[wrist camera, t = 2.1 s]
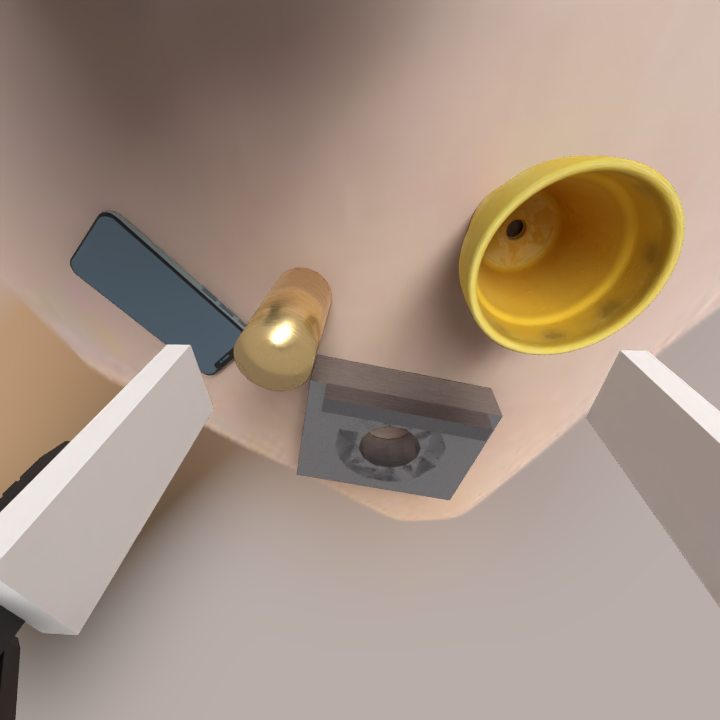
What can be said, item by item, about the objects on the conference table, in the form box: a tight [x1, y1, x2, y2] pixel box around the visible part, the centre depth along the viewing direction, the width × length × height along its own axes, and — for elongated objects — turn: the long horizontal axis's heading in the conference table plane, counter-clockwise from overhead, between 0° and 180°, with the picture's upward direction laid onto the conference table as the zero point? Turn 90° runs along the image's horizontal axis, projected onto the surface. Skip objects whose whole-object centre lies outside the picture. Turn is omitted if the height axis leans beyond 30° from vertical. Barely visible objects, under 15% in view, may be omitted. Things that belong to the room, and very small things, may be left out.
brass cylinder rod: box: [234, 268, 332, 391], centre depth 25 cm, size 5×5×10 cm
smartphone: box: [70, 211, 246, 375], centre depth 30 cm, size 8×2×15 cm
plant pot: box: [459, 156, 685, 355], centre depth 21 cm, size 10×10×10 cm
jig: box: [297, 355, 502, 500], centre depth 35 cm, size 18×14×6 cm
